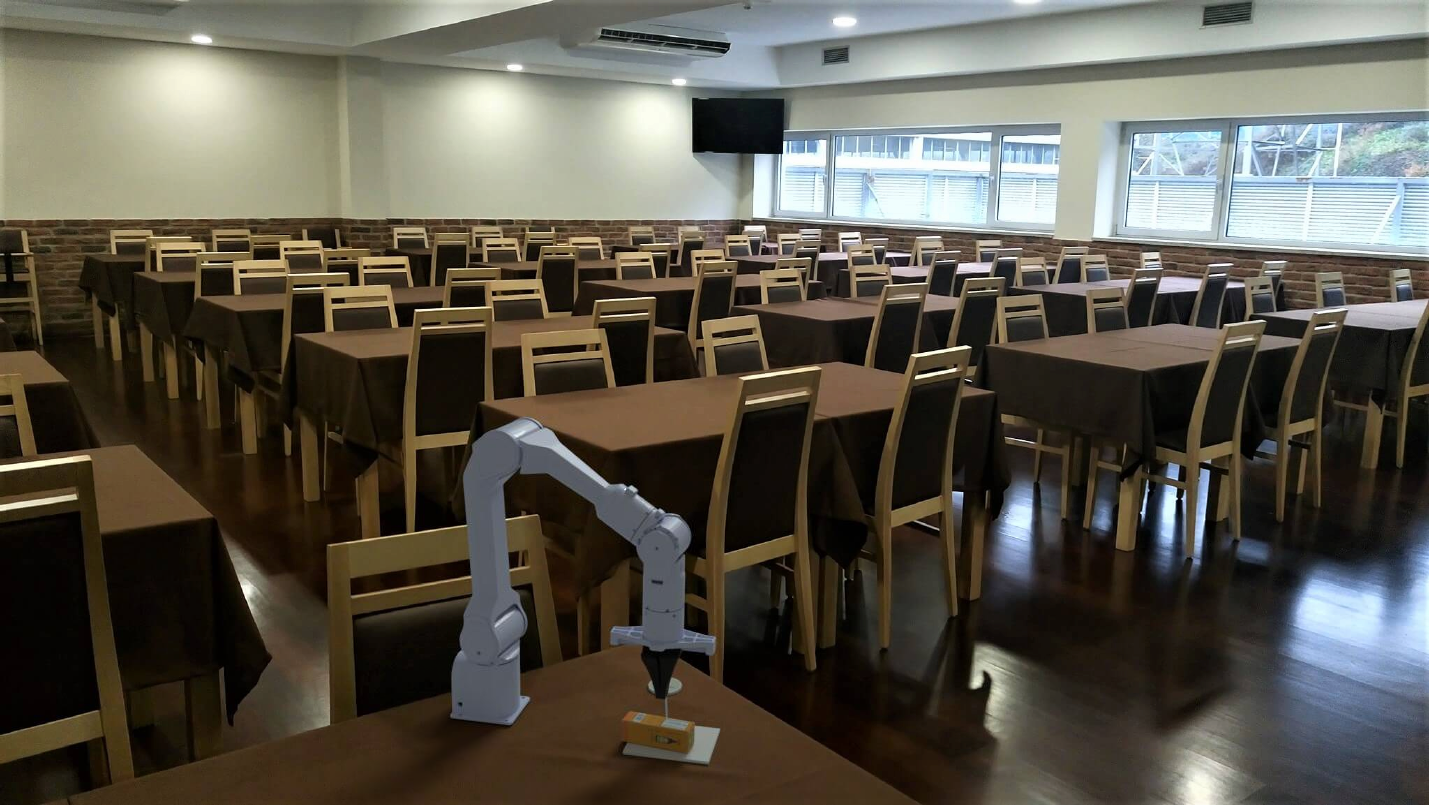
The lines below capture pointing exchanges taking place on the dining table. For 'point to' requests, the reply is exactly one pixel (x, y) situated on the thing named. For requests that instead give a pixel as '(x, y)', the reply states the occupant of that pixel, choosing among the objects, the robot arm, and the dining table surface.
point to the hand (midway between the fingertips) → (661, 695)
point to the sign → (673, 689)
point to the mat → (697, 753)
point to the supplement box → (658, 731)
